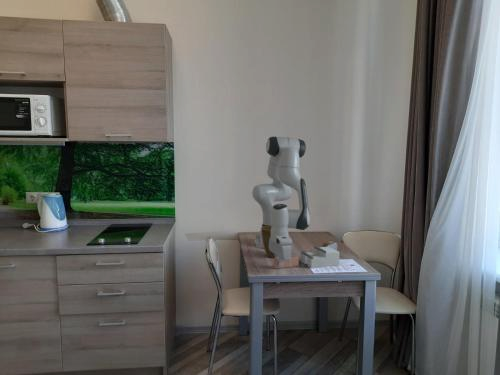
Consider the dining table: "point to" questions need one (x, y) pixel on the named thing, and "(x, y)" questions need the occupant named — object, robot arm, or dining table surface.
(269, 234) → the plant pot
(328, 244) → the tin
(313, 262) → the dispenser
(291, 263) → the brown block
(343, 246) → the dining table surface
